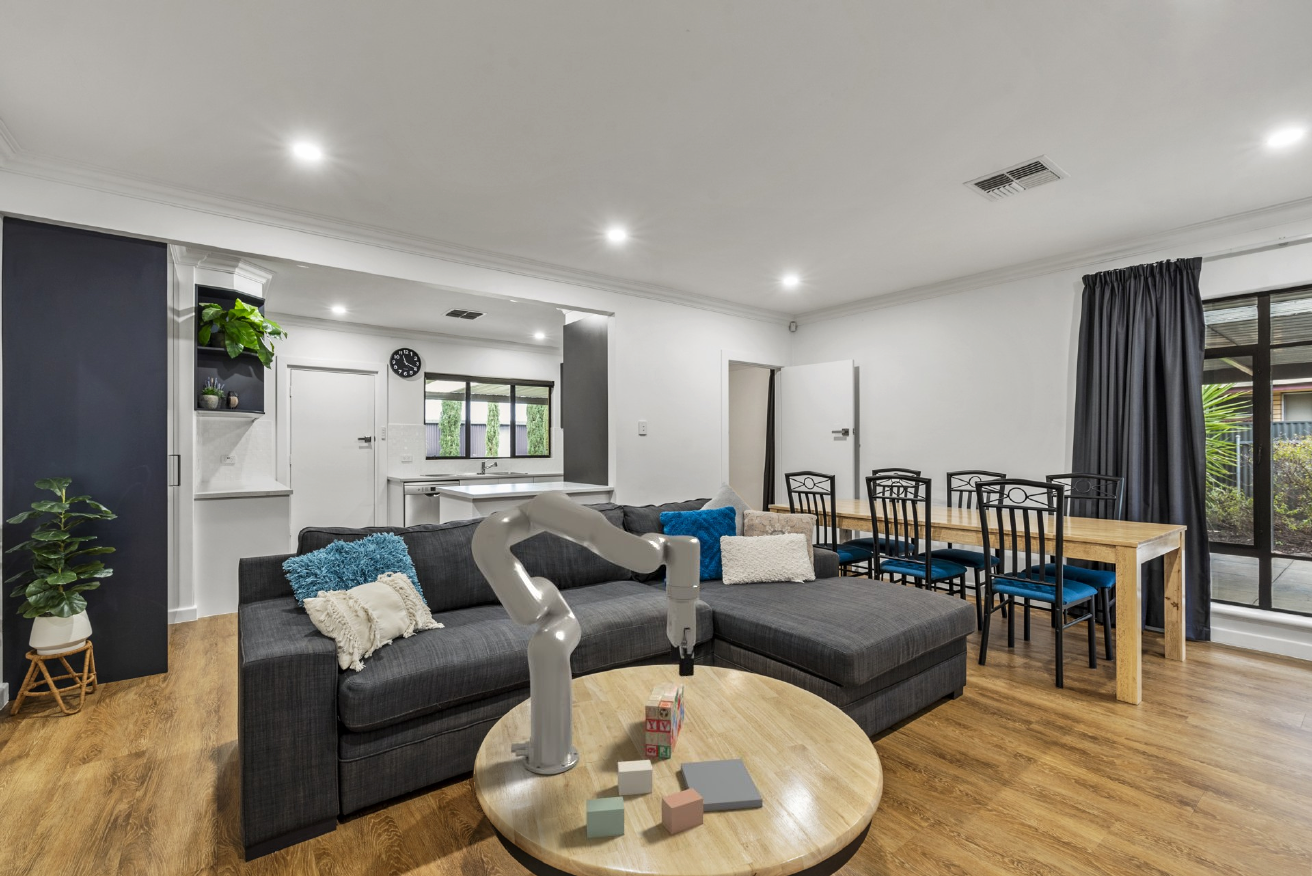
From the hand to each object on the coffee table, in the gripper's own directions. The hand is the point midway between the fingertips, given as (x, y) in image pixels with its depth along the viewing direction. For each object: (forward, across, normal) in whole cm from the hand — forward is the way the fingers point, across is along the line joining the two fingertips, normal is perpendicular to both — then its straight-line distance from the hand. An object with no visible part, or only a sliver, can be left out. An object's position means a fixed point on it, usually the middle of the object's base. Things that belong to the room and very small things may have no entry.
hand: (681, 667), depth 140 cm
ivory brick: (+23, +6, -11) cm, 26 cm away
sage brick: (+24, +18, -18) cm, 35 cm away
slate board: (+23, +8, +7) cm, 25 cm away
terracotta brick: (+23, +19, -4) cm, 30 cm away
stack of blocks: (+24, -16, 0) cm, 29 cm away
